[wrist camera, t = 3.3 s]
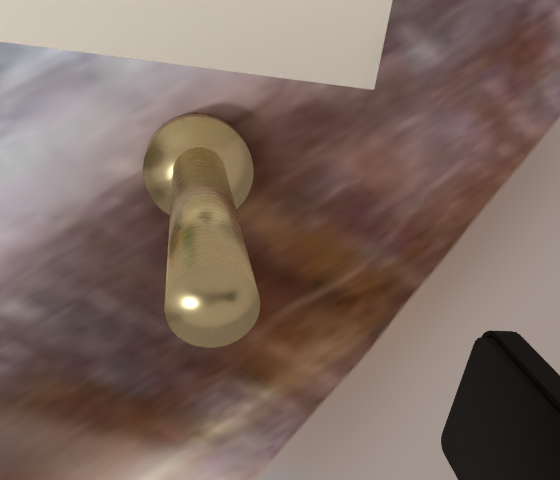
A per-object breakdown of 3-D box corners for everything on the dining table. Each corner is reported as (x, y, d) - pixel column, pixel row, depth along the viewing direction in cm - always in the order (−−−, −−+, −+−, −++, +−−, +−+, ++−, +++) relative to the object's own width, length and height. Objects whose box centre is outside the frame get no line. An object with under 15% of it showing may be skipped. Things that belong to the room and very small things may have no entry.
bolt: (244, 217, 26) (294, 387, 14) (143, 210, 25) (108, 387, 13) (256, 119, 24) (325, 223, 13) (147, 107, 23) (111, 208, 12)
